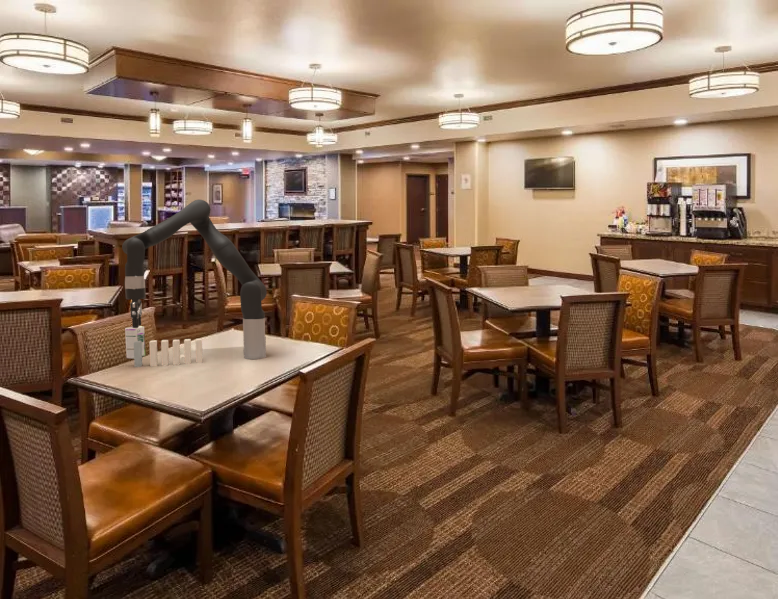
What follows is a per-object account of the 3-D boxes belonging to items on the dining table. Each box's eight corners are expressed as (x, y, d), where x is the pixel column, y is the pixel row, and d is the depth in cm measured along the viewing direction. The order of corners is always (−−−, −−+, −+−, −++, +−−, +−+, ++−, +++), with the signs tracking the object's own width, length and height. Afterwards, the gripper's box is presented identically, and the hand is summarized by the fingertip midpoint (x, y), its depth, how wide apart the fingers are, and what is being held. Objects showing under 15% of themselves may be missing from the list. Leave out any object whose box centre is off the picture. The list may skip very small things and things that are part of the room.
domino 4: (180, 362, 252) (179, 339, 251) (179, 364, 247) (178, 341, 246) (174, 363, 251) (173, 339, 250) (173, 365, 246) (172, 341, 245)
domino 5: (191, 362, 253) (190, 338, 252) (190, 364, 248) (190, 340, 247) (185, 362, 252) (184, 339, 251) (184, 364, 247) (184, 340, 247)
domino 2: (157, 363, 249) (156, 340, 248) (156, 366, 244) (155, 342, 244) (151, 364, 249) (150, 340, 248) (150, 366, 244) (149, 342, 243)
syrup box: (138, 360, 257) (136, 327, 255) (125, 360, 258) (124, 327, 257) (146, 358, 262) (144, 326, 261) (134, 358, 263) (132, 325, 262)
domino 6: (202, 361, 254) (201, 338, 253) (202, 363, 249) (201, 340, 249) (196, 361, 253) (195, 338, 253) (196, 364, 249) (195, 340, 248)
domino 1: (134, 367, 242) (133, 342, 242) (136, 364, 247) (135, 341, 246) (140, 366, 243) (139, 342, 242) (142, 364, 248) (141, 340, 247)
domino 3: (169, 363, 250) (168, 339, 250) (168, 365, 246) (167, 341, 245) (162, 363, 250) (162, 340, 249) (161, 365, 245) (161, 341, 244)
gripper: (127, 286, 248) (129, 325, 249) (122, 288, 234) (124, 329, 235) (147, 286, 250) (148, 324, 251) (143, 287, 236) (144, 328, 238)
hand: (137, 326), depth 243 cm, fingers open, 8 cm apart
